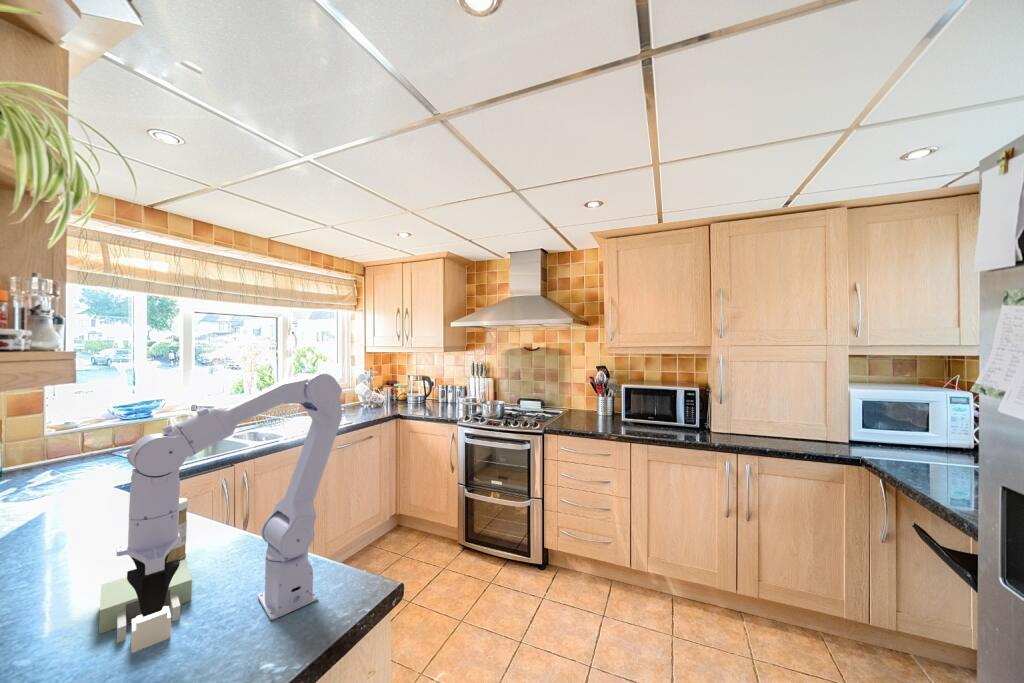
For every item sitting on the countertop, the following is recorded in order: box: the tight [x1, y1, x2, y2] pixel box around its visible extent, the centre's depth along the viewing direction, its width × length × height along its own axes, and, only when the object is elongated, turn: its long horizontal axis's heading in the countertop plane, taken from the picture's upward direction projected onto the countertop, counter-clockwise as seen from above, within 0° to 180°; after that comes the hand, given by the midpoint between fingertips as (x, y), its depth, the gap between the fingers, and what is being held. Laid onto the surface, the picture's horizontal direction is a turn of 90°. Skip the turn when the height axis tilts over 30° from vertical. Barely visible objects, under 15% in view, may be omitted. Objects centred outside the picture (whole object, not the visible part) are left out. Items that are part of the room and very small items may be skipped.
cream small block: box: [130, 606, 172, 654], centre depth 63 cm, size 4×5×4 cm
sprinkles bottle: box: [166, 497, 189, 563], centre depth 86 cm, size 5×5×13 cm
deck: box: [98, 559, 193, 644], centre depth 70 cm, size 15×12×4 cm
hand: (151, 600), depth 58 cm, fingers open, 7 cm apart
